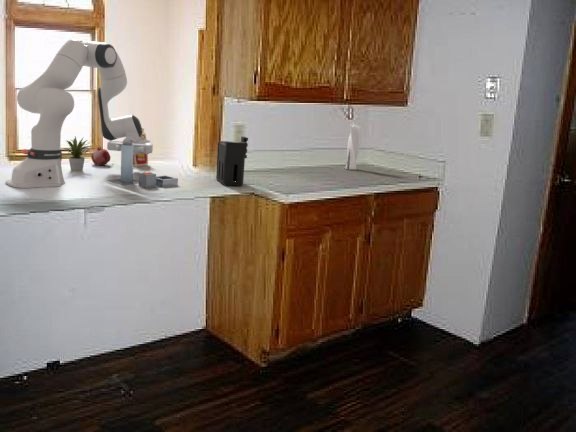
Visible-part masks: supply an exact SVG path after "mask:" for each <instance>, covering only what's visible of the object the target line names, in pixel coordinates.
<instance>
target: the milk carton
mask: <svg viewBox="0 0 576 432" xmlns="http://www.w3.org/2000/svg"><path fill="white" fill-rule="evenodd" d="M141 139H146V140H147V135H146V132H145V128H143V127H142V136H141ZM147 165H149V154H137V155H133V167H141V166H147Z"/></svg>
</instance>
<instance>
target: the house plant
mask: <svg viewBox="0 0 576 432" xmlns="http://www.w3.org/2000/svg"><path fill="white" fill-rule="evenodd" d="M83 140H84V136H83V137H82V138H81V139H80V140H79V142H78V140H77V137H76V135H75V136H74V138H73V139H70V138H69V140H67V139H66V140H65V142H66V144H67V145H68V146H69V148H70V149H69V148H67V147H65V148H63V150H66V151H67V153H68V155H70V154H71V155H72V156H69V157H68V161H69V167H70V171H71V172H75V173H77V172H78V173H79V172H83V170H84V164H85V157H83V155H84V154H87V152H89V153H90V150H92V148H90V147H92V145H88V144H92V142H90V141H88V139H86V140H84V141H83ZM87 148H88V149H87ZM89 148H90V149H89ZM86 149H87V150H86Z"/></svg>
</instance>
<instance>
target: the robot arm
mask: <svg viewBox="0 0 576 432" xmlns="http://www.w3.org/2000/svg"><path fill="white" fill-rule="evenodd" d="M83 66H85V67H86V68H87V67H88V68H96V69H98V72H99V76H100V78H101V86H99V88H98V89H97V101H98V110H99V119H100V132H101V135H102V137H103V138H104V139H105V140H107V141H108V142H107V143H106V144H107V145H106V148H107V149H106V150H107V151H113V152H121V145H122V144H123V142H131V143H132V145H133V155H137V154H148V155H149V154H150V155H151V154H153V149H154V148H153V143H152V142H151V140H150V139H147V138H146V139H141V136H142V128H143V127H142V124H141V121H140V119H139V118H138V117H137V116H136V115H134V114H128V115H122V116H120V117H113V118H110V113H109V102H110V101H111V100H112V99H114V98H115V97H116V96H119V95H120V94H121V93H123V91H124V90H125V89H126V88H127V85H128V79H127V75H126V74H127V73H126V69H125V68H124V64H123V62H122V60H121V58H120V55H119V54H118V52H117V51H116V49H115V47H114V46H113V45H112V44H110V43H107V42H103V41H102V42H101V41H94V40H79V39H74V38H72V39H69V40H67V41H66V42H64V44H63V45H62V46H61V48H59V50H58V51H57V53H56V54H55V56H54V58H53V59H52V60H51V63H50V64H49V65H48V67H47V69H46V70H45V71H44V72H42V74H40V76H39V77H37V78H36V79H35V80H34V81H32V83H30V84H28V85H26V86H23V87H22V88H20V90H18V93H17V95H16V102H17V104H18V105H19V107H20V108H21V109H23V110H24V111H26V112H29V113H32V114H38V115H39V120H38V121H37V123H36V125H34V126H33V127H32V128H31V131H30V134H31V136H30V138H31V145H30V146H31V147H30V148H29V150H28V149H27V148H23V149H22V150H21V153H22V154H23V155H27V157H26V158H25V159H24V160H22V161H21V162H19V164H17V165H15V166H14V167H13V169H12V172H11V179H6V180H5V184H6V185H8V186H10V187H14V188H18V189H19V188H20V189H30V188H34V189H35V188H51V187H52V188H54V187H61V185H64V184H66V182H65V179H64V175H63V170H62V160H63V159H62V158H63V157H62V156H63V155H62V154H63V152H62V149H61V136H62V135H61V133H62V128H63V124H64V123H65V122H64V121H65V120H66V118H67V117H68V116H69V115H70V114H71V113H72V112H73V111H74V108H75V100H74V96H73V95H72V94H71V93H70V92H69V91H66V89H69V88H71V87H72V86H73V84H74V82H75V81H76V79H77V77H78V76H79V74H80V72H81V71H82V69H83ZM121 138H124V139H123V140H122V141H118V139H121Z"/></svg>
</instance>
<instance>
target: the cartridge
mask: <svg viewBox="0 0 576 432" xmlns="http://www.w3.org/2000/svg"><path fill="white" fill-rule="evenodd" d="M122 142H123V141H122ZM120 154H121V155H120V179H121V182H124V183H131V182H133V179H134V178H133V177H134V176H133V175H134V173H133V172H134V166H133V145H132V143H131V142H123V144H122V145H121V151H120Z"/></svg>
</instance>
